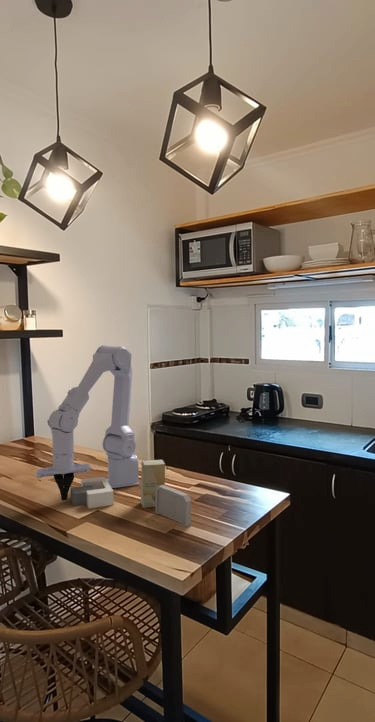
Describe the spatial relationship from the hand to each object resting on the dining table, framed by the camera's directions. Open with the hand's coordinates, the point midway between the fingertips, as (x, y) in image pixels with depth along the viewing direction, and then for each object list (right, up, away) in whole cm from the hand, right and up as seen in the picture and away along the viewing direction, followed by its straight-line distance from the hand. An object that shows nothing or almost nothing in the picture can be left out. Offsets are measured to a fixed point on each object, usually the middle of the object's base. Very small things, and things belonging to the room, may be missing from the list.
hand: (64, 499), depth 127 cm
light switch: (+31, -2, -10) cm, 33 cm away
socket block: (+9, -1, +3) cm, 9 cm away
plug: (+5, -1, +2) cm, 5 cm away
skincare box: (+25, -1, -1) cm, 25 cm away
